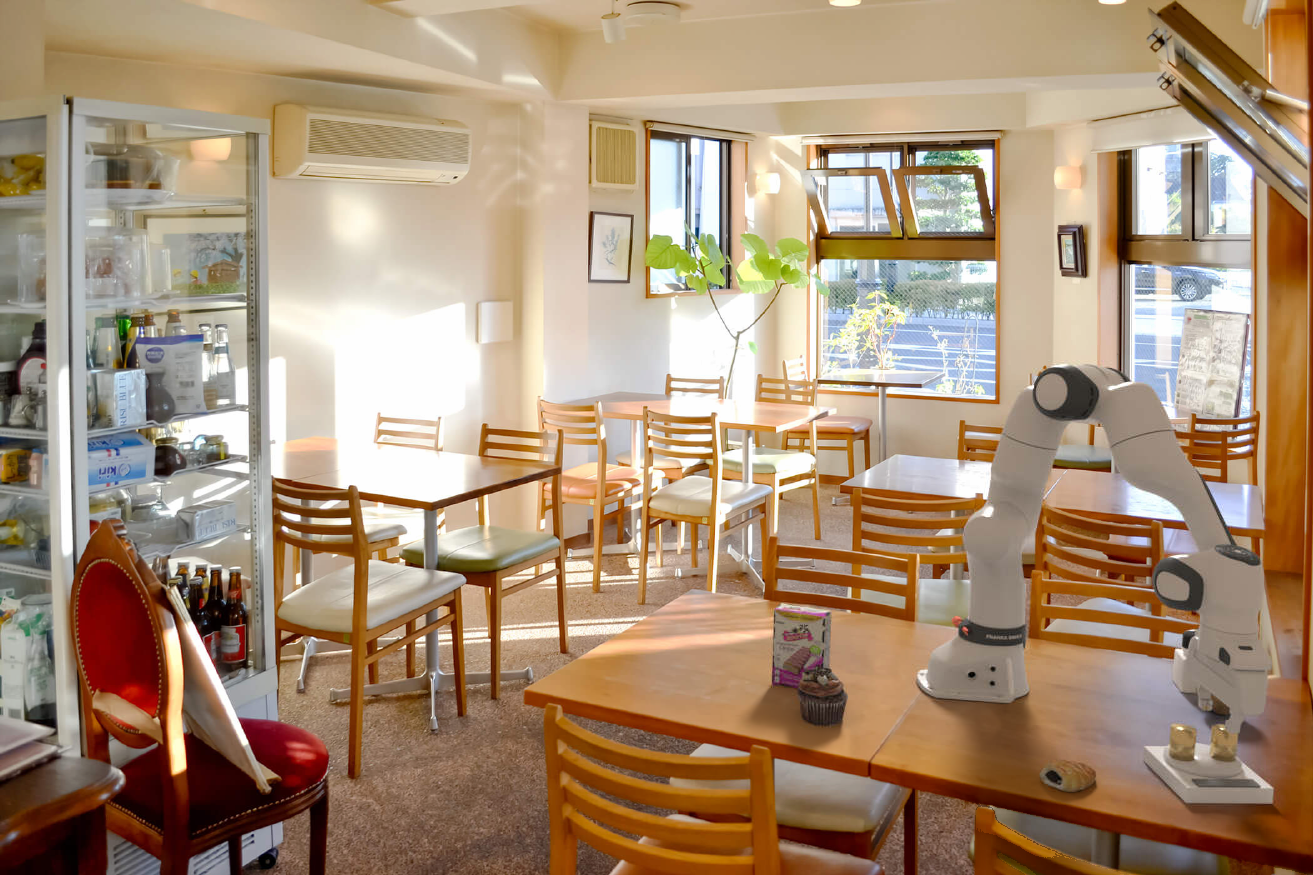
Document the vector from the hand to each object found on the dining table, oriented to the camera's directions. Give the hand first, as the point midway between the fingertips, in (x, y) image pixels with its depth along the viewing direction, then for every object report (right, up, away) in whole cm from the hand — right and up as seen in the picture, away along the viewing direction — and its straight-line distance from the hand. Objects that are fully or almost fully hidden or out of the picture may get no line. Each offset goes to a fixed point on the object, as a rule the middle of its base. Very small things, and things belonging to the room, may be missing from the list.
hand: (1218, 720), depth 187 cm
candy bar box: (-66, -4, +42) cm, 78 cm away
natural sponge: (+14, -6, +28) cm, 32 cm away
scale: (-3, -10, -1) cm, 10 cm away
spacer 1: (-6, -6, 0) cm, 9 cm away
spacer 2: (+1, -6, 0) cm, 6 cm away
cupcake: (-64, -6, +25) cm, 69 cm away
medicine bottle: (+16, -4, +42) cm, 45 cm away
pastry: (-26, -11, -2) cm, 28 cm away
